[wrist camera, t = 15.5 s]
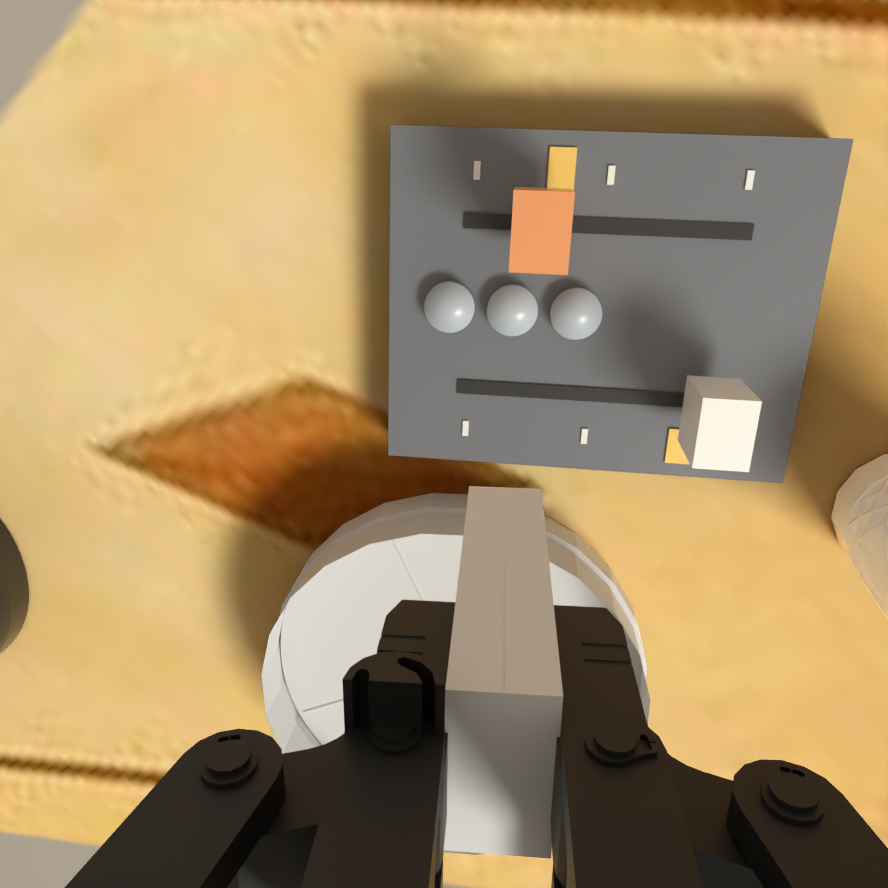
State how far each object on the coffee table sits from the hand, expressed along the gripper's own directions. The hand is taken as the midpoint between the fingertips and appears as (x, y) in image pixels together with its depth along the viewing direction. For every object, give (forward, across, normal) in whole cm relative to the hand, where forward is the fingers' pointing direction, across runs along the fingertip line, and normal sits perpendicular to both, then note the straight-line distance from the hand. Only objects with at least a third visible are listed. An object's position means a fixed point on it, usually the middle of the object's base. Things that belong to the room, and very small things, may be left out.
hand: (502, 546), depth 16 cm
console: (+25, +4, +1) cm, 25 cm away
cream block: (+22, +10, -3) cm, 24 cm away
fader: (+22, +1, +5) cm, 23 cm away
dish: (+26, -2, -21) cm, 33 cm away
